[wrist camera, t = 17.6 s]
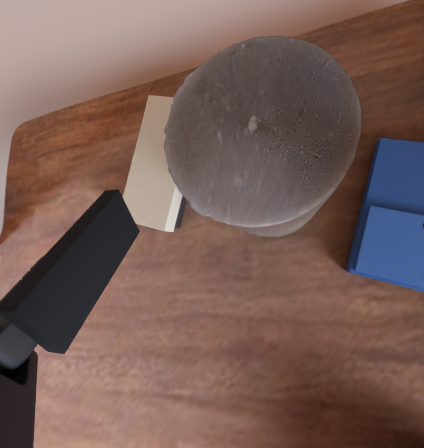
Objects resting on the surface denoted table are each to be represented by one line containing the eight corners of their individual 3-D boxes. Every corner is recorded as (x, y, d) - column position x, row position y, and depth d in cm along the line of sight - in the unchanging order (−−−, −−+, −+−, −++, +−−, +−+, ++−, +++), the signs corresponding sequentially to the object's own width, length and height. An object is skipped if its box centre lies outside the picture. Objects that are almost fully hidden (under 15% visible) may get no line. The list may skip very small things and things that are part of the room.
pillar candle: (341, 165, 24) (426, 39, 9) (290, 256, 24) (298, 270, 10) (249, 128, 27) (207, -13, 12) (205, 210, 27) (116, 170, 13)
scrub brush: (209, 118, 28) (197, 99, 24) (180, 233, 28) (164, 231, 24) (165, 113, 30) (148, 94, 26) (137, 222, 29) (116, 218, 26)
